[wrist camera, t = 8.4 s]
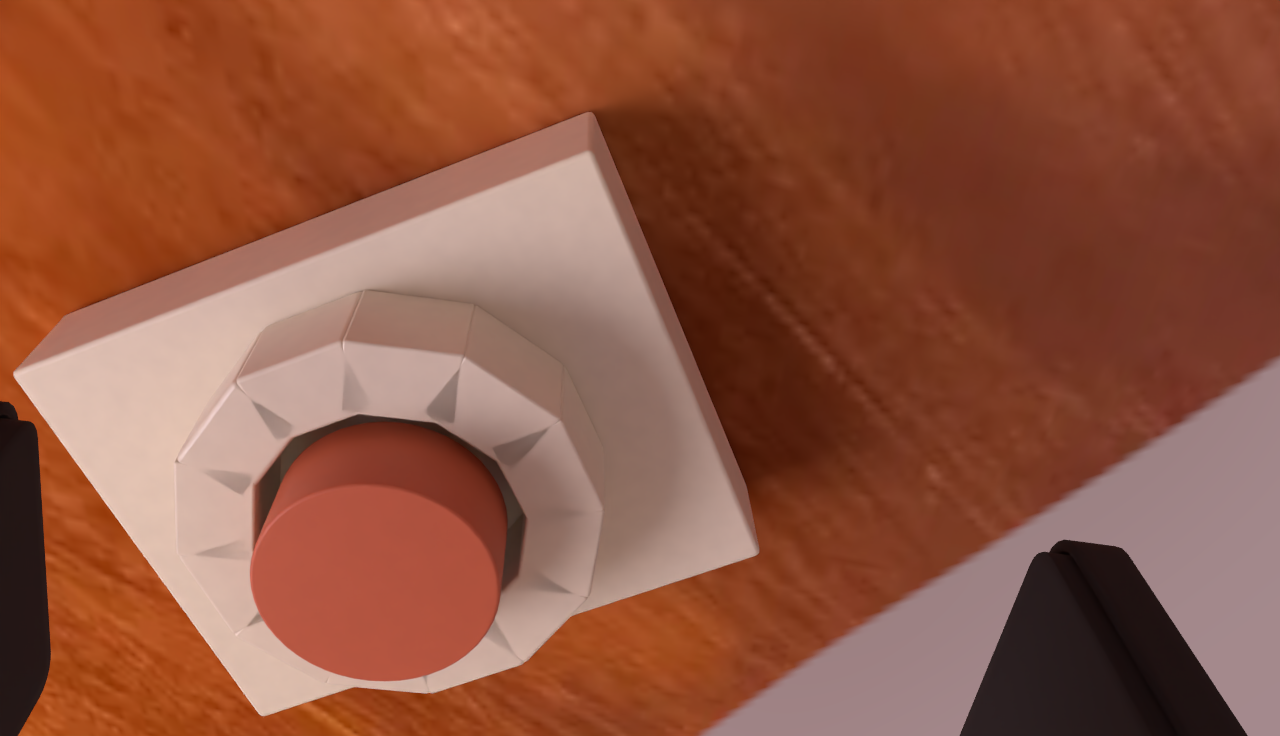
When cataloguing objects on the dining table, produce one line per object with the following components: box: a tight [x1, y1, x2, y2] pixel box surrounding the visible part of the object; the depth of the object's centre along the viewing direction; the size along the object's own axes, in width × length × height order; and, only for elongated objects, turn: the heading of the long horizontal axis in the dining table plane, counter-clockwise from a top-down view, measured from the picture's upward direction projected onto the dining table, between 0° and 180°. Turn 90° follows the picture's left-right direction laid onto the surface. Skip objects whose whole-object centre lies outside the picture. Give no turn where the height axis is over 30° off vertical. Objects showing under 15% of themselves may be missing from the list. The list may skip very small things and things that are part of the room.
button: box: [250, 422, 508, 682], centre depth 18 cm, size 4×4×2 cm
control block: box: [13, 112, 759, 716], centre depth 20 cm, size 10×8×4 cm
